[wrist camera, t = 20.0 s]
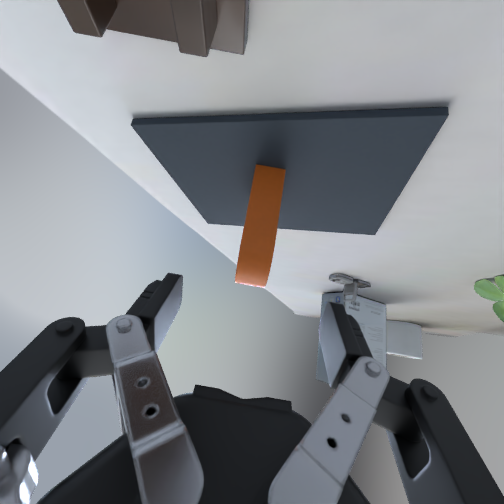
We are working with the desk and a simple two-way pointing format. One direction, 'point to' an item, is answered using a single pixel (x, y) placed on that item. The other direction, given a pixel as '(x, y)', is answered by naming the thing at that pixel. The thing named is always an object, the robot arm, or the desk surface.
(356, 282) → the strap clip
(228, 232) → the desk surface
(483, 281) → the green clover
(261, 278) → the orange curved block
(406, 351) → the white paper roll
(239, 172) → the felt mat
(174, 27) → the holder
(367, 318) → the hard drive box
